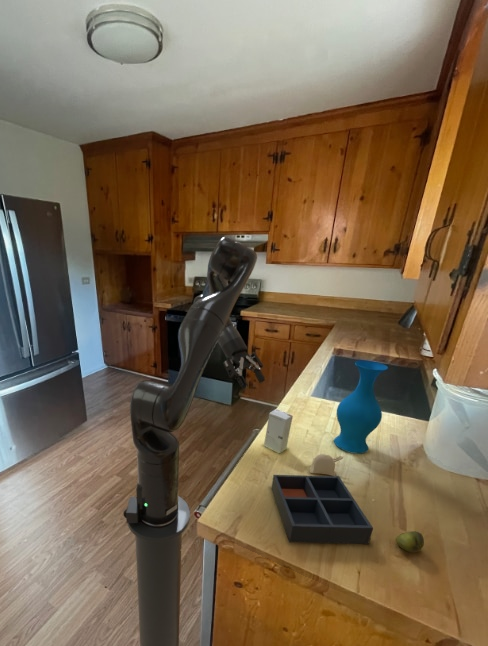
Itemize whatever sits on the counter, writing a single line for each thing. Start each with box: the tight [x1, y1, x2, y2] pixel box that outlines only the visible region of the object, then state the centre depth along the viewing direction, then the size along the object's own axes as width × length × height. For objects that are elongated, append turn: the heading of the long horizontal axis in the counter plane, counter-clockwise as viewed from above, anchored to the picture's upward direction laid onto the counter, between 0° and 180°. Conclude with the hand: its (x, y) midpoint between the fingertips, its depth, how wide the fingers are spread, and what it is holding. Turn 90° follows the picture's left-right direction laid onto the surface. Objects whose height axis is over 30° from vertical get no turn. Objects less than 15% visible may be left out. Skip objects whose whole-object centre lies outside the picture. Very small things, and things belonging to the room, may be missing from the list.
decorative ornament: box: [309, 453, 344, 476], centre depth 93 cm, size 4×8×5 cm, turn 76°
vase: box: [333, 359, 389, 454], centre depth 102 cm, size 12×13×28 cm
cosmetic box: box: [263, 408, 294, 454], centre depth 103 cm, size 6×4×12 cm
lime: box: [395, 530, 425, 553], centre depth 69 cm, size 4×5×5 cm
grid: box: [270, 474, 374, 545], centre depth 78 cm, size 17×17×5 cm
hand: (254, 384), depth 106 cm, fingers open, 8 cm apart
